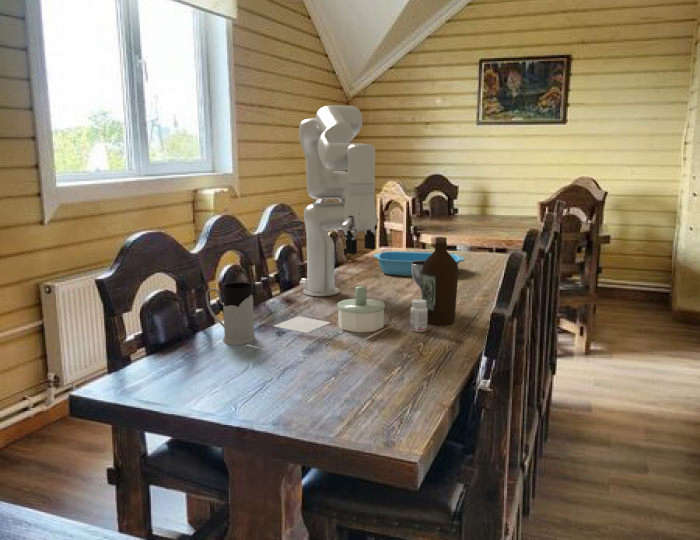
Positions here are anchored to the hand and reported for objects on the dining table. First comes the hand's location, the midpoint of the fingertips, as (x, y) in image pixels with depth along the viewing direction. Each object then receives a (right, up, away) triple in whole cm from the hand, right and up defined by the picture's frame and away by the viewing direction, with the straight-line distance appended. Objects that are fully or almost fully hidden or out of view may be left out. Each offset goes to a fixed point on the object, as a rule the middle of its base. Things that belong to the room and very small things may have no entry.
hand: (360, 251), depth 172 cm
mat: (-17, -21, +6) cm, 28 cm away
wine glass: (+20, -18, +24) cm, 36 cm away
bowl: (0, -22, +4) cm, 22 cm away
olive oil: (+23, -21, +11) cm, 33 cm away
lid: (0, -16, +3) cm, 16 cm away
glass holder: (-35, -24, -6) cm, 43 cm away
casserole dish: (+25, -7, +80) cm, 84 cm away
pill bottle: (+17, -22, +2) cm, 28 cm away
